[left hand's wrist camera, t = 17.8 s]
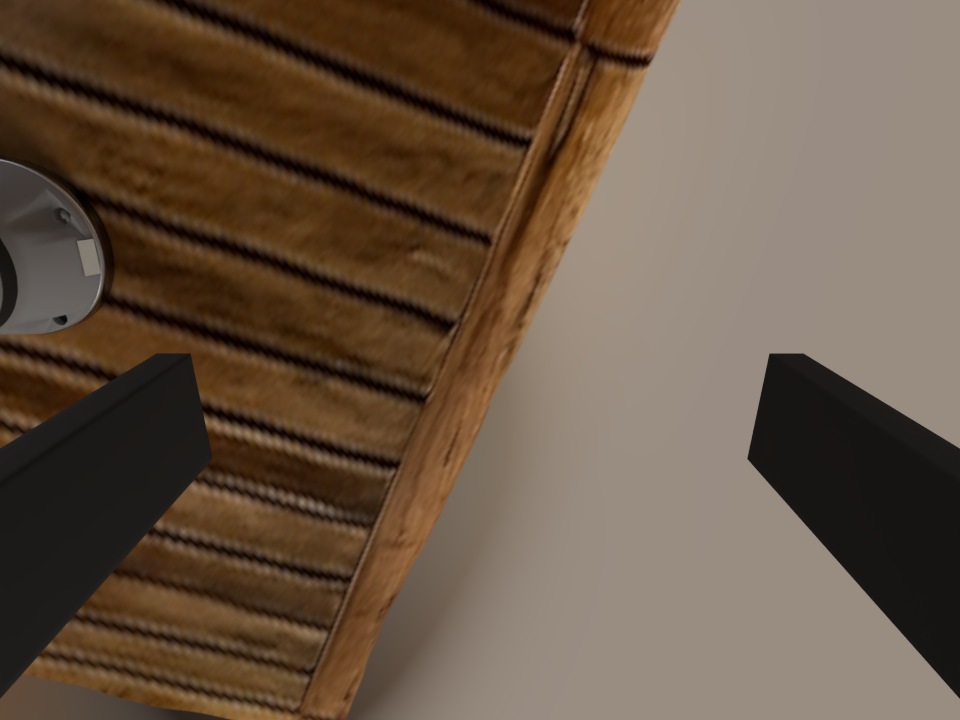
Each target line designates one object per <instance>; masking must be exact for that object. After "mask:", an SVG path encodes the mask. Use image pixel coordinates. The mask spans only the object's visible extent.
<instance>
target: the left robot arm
mask: <svg viewBox="0 0 960 720" xmlns="http://www.w3.org/2000/svg"><path fill="white" fill-rule="evenodd" d="M113 276H114V261H113V254H112V248H111V245H110V242H109V239H108V236H107V233H106V231H105V229H104V227H103V225H102V223H101V221H100V220H99V218H98V216H97V215H96V213H95V212H94V210H93V209H92V208H91V206H90V205H89V204H88V203H87V201H86V200H85V199H84V198H83V197H82V196H81V195H80V194H79V193H78V192H77V191H76V190H75V189H74V188H73V187H71V186H70V185H69V184H68V183H66V182H65V181H64V180H63V179H61V178H59V177H58V176H56V175H55V174H53V173H51V172H50V171H48V170H46V169H44V168H42V167H39V166H37V165H34V164H31V163H29V162H25V161H21V160H17V159H10V158H0V334H46V333H53V332H57V331H61V330H63V329H66V328H69V327H71V326H74V325H76V324H78V323H81V322H83V321H85V320H86V319H88V318H89V317H91V316H92V315H93V314H95V313H96V312H97V311H98V310H99V309H100V308H101V306H102V305H103V304H104V302H105V301H106V299H107V297H108V295H109V292H110V290H111V287H112V282H113ZM211 460H212V454H211V449H210V444H209V440H208V435H207V430H206V425H205V421H204V416H203V411H202V406H201V401H200V397H199V392H198V387H197V382H196V378H195V373H194V368H193V363H192V359H191V354H155V355H154V356H152V357H150V358H149V359H147V360H145V361H144V362H142V363H140V364H139V365H137V366H135V367H134V368H132V369H130V370H129V371H127V372H126V373H124V374H122V375H121V376H119V377H117V378H116V379H114V380H112V381H111V382H109V383H107V384H106V385H104V386H102V387H101V388H99V389H98V390H96V391H94V392H93V393H91V394H89V395H88V396H86V397H84V398H83V399H81V400H79V401H78V402H76V403H75V404H73V405H71V406H70V407H68V408H66V409H65V410H63V411H61V412H60V413H58V414H56V415H55V416H53V417H51V418H50V419H48V420H47V421H45V422H43V423H42V424H40V425H38V426H37V427H35V428H33V429H32V430H30V431H28V432H27V433H25V434H23V435H22V436H20V437H19V438H17V439H15V440H14V441H12V442H10V443H9V444H7V445H5V446H4V447H2V448H0V698H1V697H2V696H3V695H4V694H5V693H6V692H7V690H8V689H9V688H10V687H11V686H12V685H13V684H14V683H15V681H16V680H17V679H18V678H19V677H20V676H21V675H22V673H23V672H24V671H25V670H26V669H27V668H28V667H29V666H30V664H31V663H32V662H33V661H34V660H35V659H36V658H37V657H38V655H39V654H40V653H41V652H42V651H43V650H44V649H45V648H46V646H47V645H48V644H49V643H50V642H51V641H52V640H53V638H54V637H55V636H56V635H57V634H58V633H59V632H60V631H61V629H62V628H63V627H64V626H65V625H66V624H67V623H68V622H69V620H70V619H71V618H72V617H73V616H74V615H75V614H76V613H77V611H78V610H79V609H80V608H81V607H82V606H83V605H84V604H85V602H86V601H87V600H88V599H89V598H90V597H91V596H92V594H93V593H94V592H95V591H96V590H97V589H98V588H99V587H100V585H101V584H102V583H103V582H104V581H105V580H106V579H107V578H108V576H109V575H110V574H111V573H112V572H113V571H114V570H115V569H116V567H117V566H118V565H119V564H120V563H121V562H122V561H123V559H124V558H125V557H126V556H127V555H128V554H129V553H130V552H131V550H132V549H133V548H134V547H135V546H136V545H137V544H138V543H139V541H140V540H141V539H142V538H143V537H144V536H145V535H146V534H147V532H148V531H149V530H150V529H151V528H152V527H153V526H154V524H155V523H156V522H157V521H158V520H159V519H160V518H161V517H162V515H163V514H164V513H165V512H166V511H167V510H168V509H169V508H170V506H171V505H172V504H173V503H174V502H175V501H176V500H177V499H178V497H179V496H180V495H181V494H182V493H183V492H184V491H185V490H186V488H187V487H188V486H189V485H190V484H191V483H192V482H193V480H194V479H195V478H196V477H197V476H198V475H199V474H200V473H201V471H202V470H203V469H204V468H205V467H206V466H207V465H208V464H209V462H210V461H211ZM748 460H749V461H750V462H751V463H752V465H753V466H754V467H755V468H756V469H757V470H758V471H759V473H760V474H761V475H762V476H763V477H764V478H765V479H766V480H767V482H768V483H769V484H770V485H771V486H772V487H773V488H774V490H775V491H776V492H777V493H778V494H779V495H780V496H781V497H782V498H783V500H784V501H785V502H786V503H787V504H788V505H789V506H790V508H791V509H792V510H793V511H794V512H795V513H796V514H797V515H798V517H799V518H800V519H801V520H802V521H803V522H804V523H805V524H806V526H807V527H808V528H809V529H810V530H811V531H812V532H813V534H814V535H815V536H816V537H817V538H818V539H819V540H820V541H821V543H822V544H823V545H824V546H825V547H826V548H827V549H828V550H829V552H830V553H831V554H832V555H833V556H834V557H835V558H836V559H837V561H838V562H839V563H840V564H841V565H842V566H843V567H844V569H845V570H846V571H847V572H848V573H849V574H850V575H851V576H852V578H853V579H854V580H855V581H856V582H857V583H858V584H859V585H860V587H861V588H862V589H863V590H864V591H865V592H866V593H867V594H868V596H869V597H870V598H871V599H872V600H873V601H874V602H875V604H876V605H877V606H878V607H879V608H880V609H881V610H882V611H883V613H884V614H885V615H886V616H887V617H888V618H889V619H890V620H891V622H892V623H893V624H894V625H895V626H896V627H897V628H898V629H899V631H900V632H901V633H902V634H903V635H904V636H905V637H906V638H907V640H908V641H909V642H910V643H911V644H912V645H913V646H914V648H915V649H916V650H917V651H918V652H919V653H920V654H921V655H922V657H923V658H924V659H925V660H926V661H927V662H928V663H929V664H930V666H931V667H932V668H933V669H934V670H935V671H936V672H937V673H938V675H939V676H940V677H941V678H942V679H943V680H944V681H945V682H946V684H947V685H948V686H949V687H950V688H951V689H952V690H953V691H954V693H955V694H956V695H957V696H958V697H959V698H960V448H958V447H956V446H955V445H953V444H951V443H950V442H948V441H946V440H945V439H943V438H941V437H940V436H938V435H936V434H935V433H933V432H932V431H930V430H928V429H927V428H925V427H923V426H922V425H920V424H918V423H917V422H915V421H913V420H912V419H910V418H909V417H907V416H905V415H904V414H902V413H900V412H899V411H897V410H895V409H894V408H892V407H890V406H889V405H887V404H885V403H884V402H882V401H881V400H879V399H877V398H875V397H874V396H872V395H871V394H869V393H867V392H866V391H864V390H862V389H861V388H859V387H857V386H856V385H854V384H853V383H851V382H849V381H848V380H846V379H844V378H843V377H841V376H839V375H838V374H836V373H834V372H833V371H831V370H830V369H828V368H826V367H824V366H823V365H821V364H820V363H818V362H816V361H815V360H813V359H811V358H810V357H808V356H806V355H805V354H769V359H768V364H767V368H766V373H765V378H764V382H763V387H762V392H761V397H760V401H759V406H758V411H757V416H756V421H755V425H754V430H753V435H752V440H751V444H750V449H749V454H748Z"/></svg>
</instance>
